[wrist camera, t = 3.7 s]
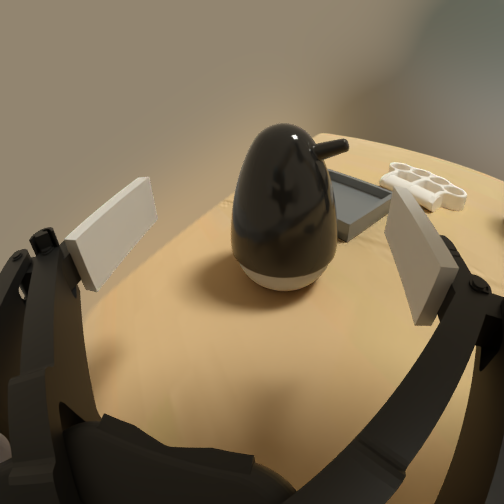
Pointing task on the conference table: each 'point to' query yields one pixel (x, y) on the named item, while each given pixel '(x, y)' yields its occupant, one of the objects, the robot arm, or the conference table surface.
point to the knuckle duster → (424, 187)
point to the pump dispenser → (285, 209)
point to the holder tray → (357, 204)
